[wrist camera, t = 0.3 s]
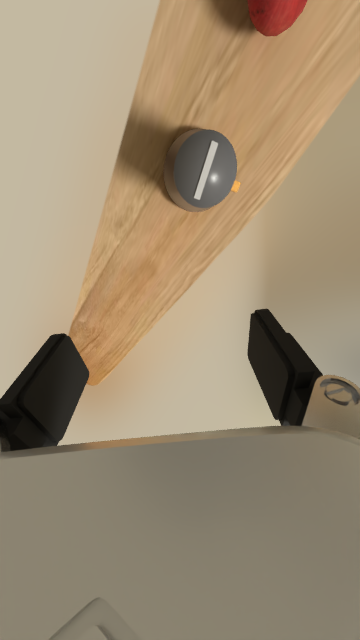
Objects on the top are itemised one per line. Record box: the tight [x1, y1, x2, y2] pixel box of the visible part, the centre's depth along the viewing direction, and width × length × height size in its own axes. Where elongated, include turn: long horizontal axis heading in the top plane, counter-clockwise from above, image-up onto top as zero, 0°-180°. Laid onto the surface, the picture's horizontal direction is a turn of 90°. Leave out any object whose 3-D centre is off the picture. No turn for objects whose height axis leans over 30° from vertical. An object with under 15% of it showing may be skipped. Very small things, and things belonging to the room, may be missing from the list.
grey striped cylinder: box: [174, 130, 241, 208], centre depth 24 cm, size 7×8×5 cm
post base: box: [164, 129, 213, 212], centre depth 28 cm, size 10×10×5 cm
